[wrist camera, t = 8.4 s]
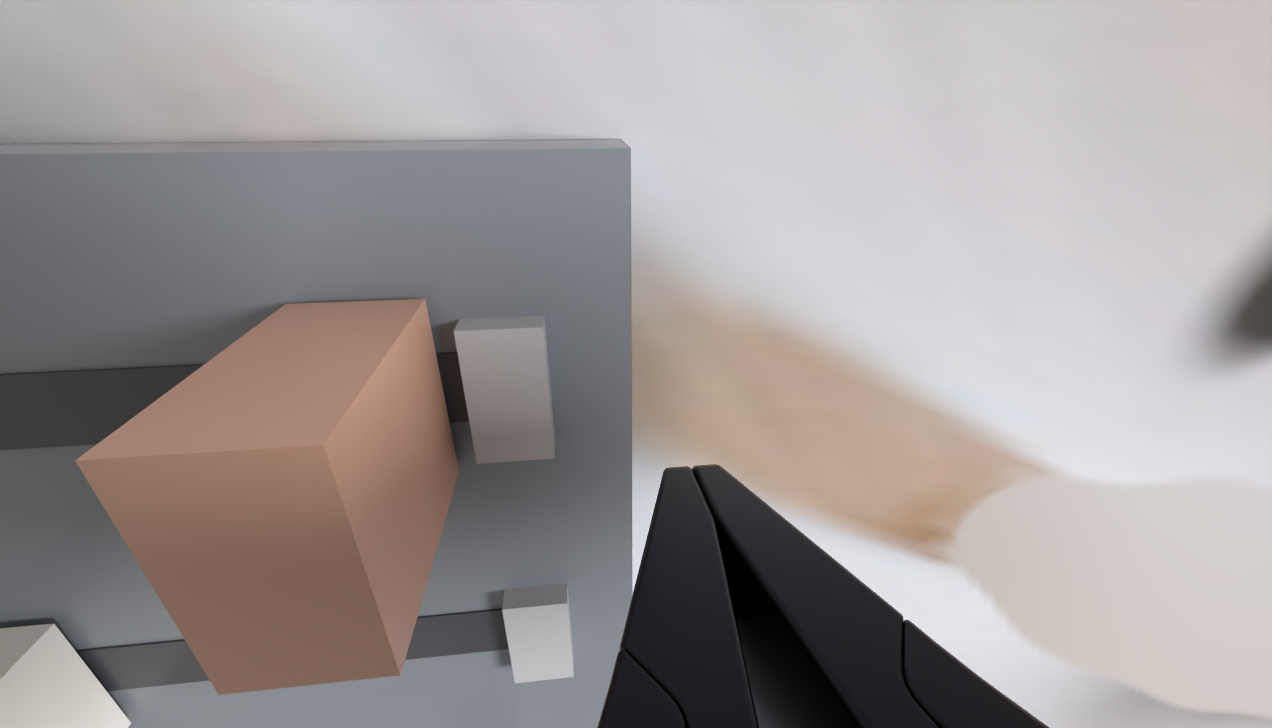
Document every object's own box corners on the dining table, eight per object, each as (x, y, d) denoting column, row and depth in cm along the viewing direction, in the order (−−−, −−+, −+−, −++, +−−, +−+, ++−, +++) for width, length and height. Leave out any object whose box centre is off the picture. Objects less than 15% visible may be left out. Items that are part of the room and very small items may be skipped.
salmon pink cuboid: (425, 298, 10) (322, 445, 6) (459, 472, 11) (401, 675, 7) (285, 303, 9) (74, 461, 5) (343, 480, 11) (218, 695, 7)
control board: (620, 139, 11) (634, 151, 8) (627, 765, 22) (634, 844, 19) (-579, 148, 9) (-989, 168, 6) (100, 834, 20) (38, 931, 17)
